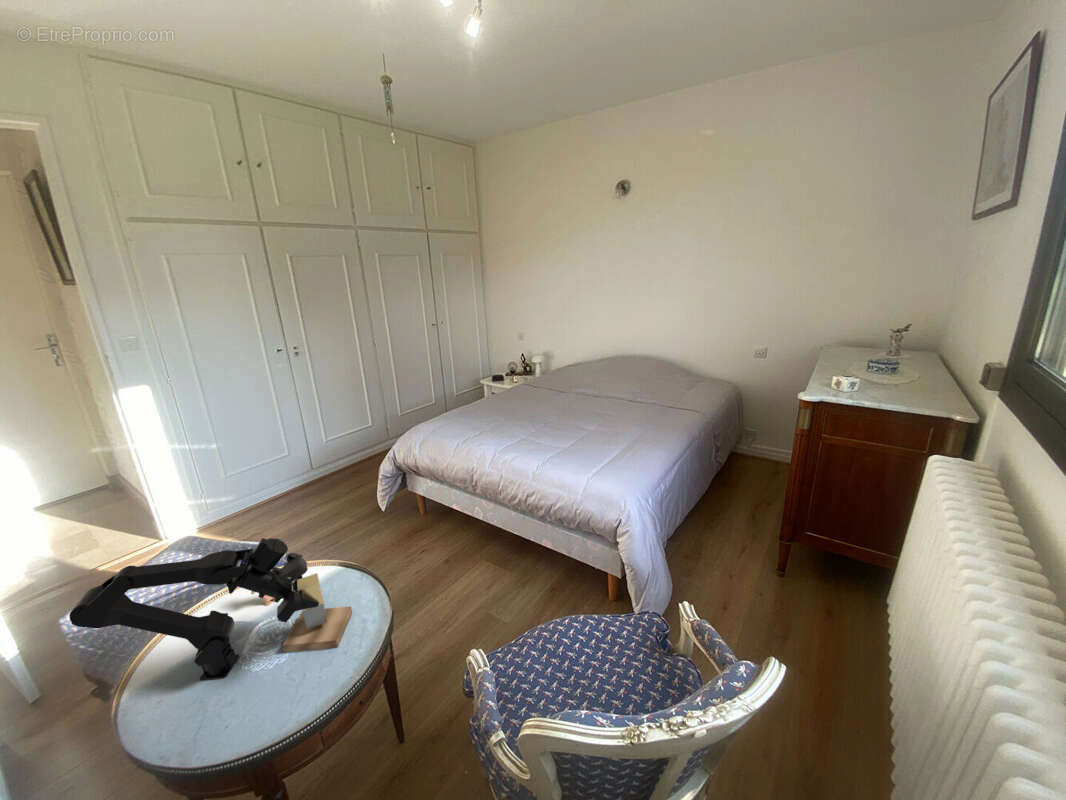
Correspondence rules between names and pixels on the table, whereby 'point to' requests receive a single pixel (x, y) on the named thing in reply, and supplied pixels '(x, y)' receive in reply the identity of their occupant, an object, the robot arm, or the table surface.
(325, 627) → the walnut plinth
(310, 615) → the yellow grey tall block
